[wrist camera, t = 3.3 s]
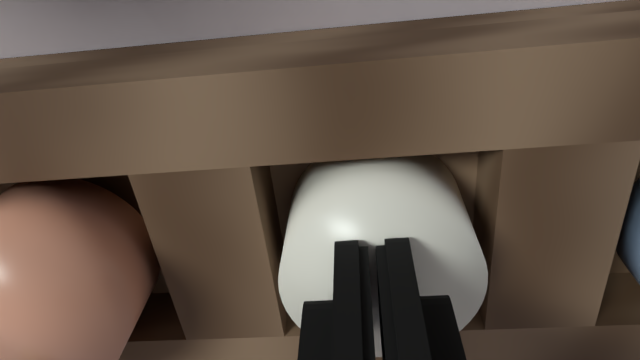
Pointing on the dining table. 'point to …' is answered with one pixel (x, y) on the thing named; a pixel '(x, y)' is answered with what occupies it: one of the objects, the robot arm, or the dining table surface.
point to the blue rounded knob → (631, 234)
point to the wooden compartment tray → (352, 144)
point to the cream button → (382, 231)
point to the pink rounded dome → (71, 271)
